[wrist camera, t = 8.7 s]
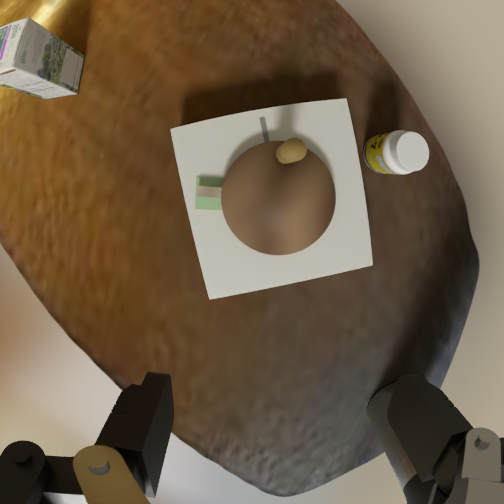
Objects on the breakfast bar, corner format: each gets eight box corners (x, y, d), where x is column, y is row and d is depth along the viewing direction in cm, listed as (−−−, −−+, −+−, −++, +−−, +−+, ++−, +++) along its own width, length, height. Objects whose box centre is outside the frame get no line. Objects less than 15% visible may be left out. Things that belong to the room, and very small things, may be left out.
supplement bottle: (382, 128, 34) (416, 118, 25) (402, 159, 35) (440, 158, 26) (354, 149, 34) (384, 143, 26) (376, 181, 35) (410, 184, 27)
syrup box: (52, 62, 30) (-12, 31, 15) (87, 55, 30) (26, 15, 16) (45, 100, 31) (-26, 80, 17) (80, 94, 31) (11, 67, 17)
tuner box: (357, 253, 37) (373, 265, 32) (213, 283, 38) (209, 299, 33) (332, 107, 33) (346, 98, 28) (180, 135, 33) (170, 128, 28)
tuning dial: (338, 150, 29) (364, 144, 22) (325, 257, 32) (346, 279, 25) (203, 134, 28) (192, 123, 22) (194, 245, 31) (181, 265, 24)
